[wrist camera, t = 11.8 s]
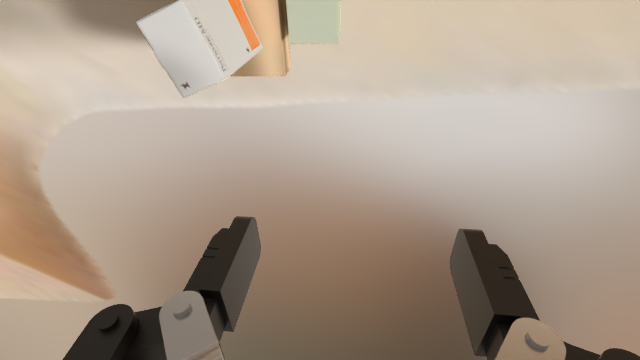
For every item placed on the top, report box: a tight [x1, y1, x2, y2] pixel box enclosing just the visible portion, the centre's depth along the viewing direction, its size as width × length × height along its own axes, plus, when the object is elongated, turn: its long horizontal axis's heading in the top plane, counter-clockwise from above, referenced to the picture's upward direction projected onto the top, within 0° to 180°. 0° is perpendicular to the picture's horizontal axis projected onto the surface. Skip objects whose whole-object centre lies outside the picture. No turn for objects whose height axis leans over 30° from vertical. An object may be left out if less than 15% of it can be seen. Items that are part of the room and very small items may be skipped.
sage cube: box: [286, 0, 341, 44], centre depth 33 cm, size 5×5×5 cm
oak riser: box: [230, 0, 291, 76], centre depth 35 cm, size 10×10×4 cm
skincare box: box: [136, 0, 263, 98], centre depth 28 cm, size 6×4×12 cm
